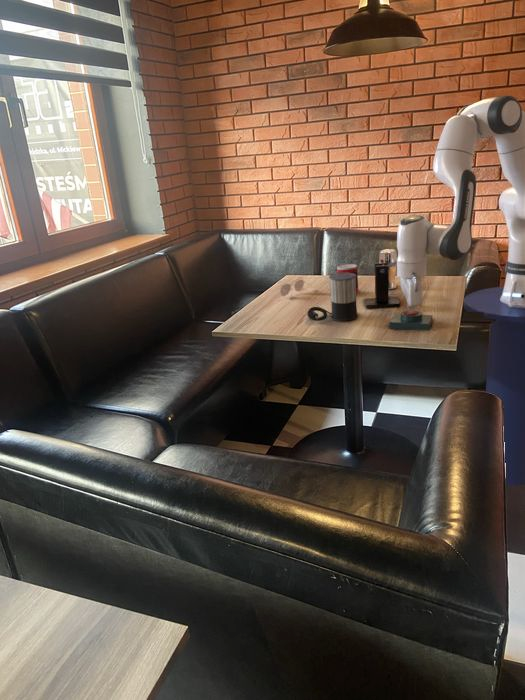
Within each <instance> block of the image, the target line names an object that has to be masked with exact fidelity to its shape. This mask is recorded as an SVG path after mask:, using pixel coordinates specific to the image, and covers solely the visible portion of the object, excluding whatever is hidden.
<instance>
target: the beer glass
mask: <svg viewBox="0 0 525 700" xmlns="http://www.w3.org/2000/svg"><path fill="white" fill-rule="evenodd" d="M378 253H379V255H378V263H387V265H389V264H391V263H393V262H395V261H397V258H398V253H397V249H394V248H388V249H387V248H386V249H381V250H379V252H378ZM388 271H389V290H394V289H396V288H397V282H396V276H397V265H395V266H392V267H390V268H388Z"/></svg>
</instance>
